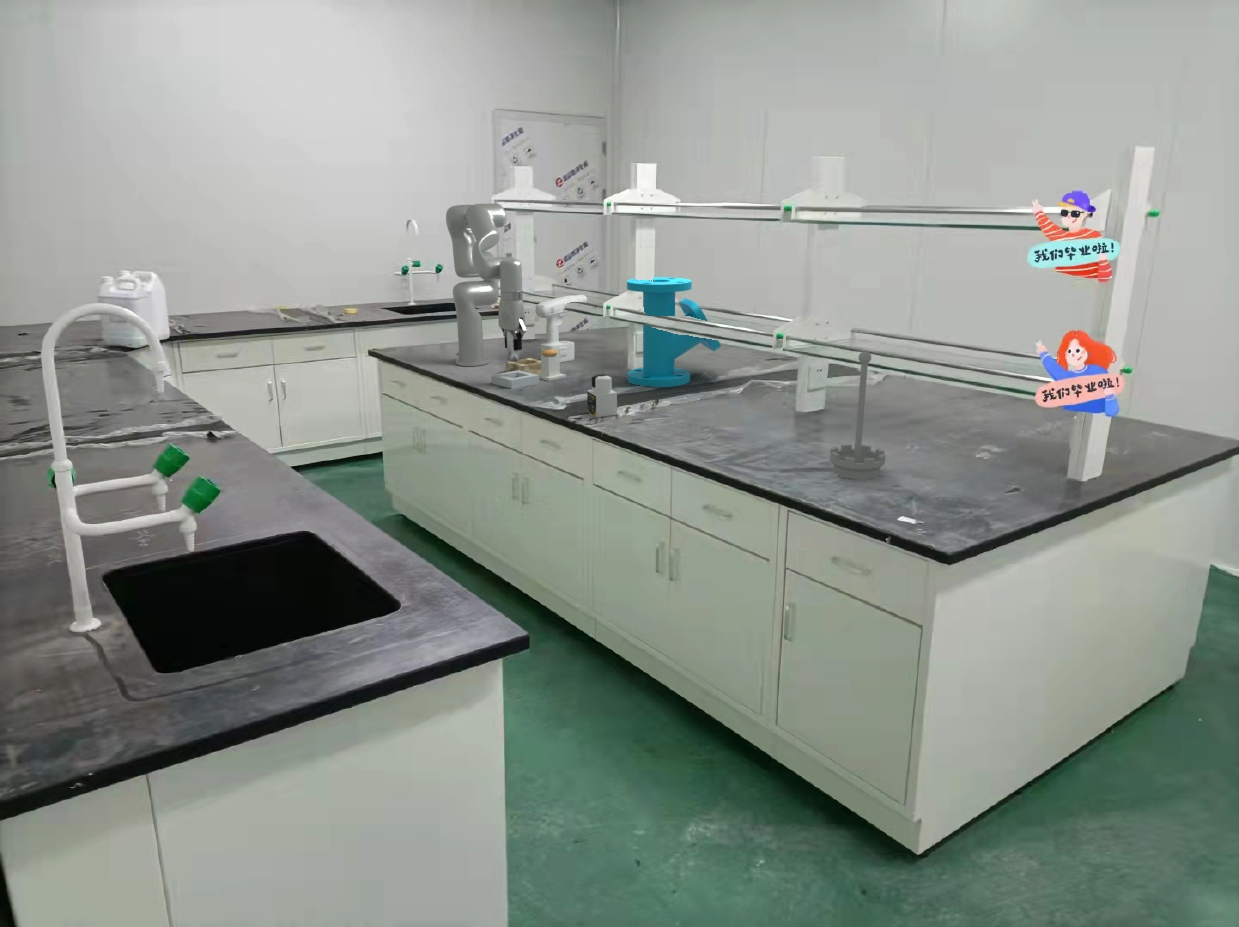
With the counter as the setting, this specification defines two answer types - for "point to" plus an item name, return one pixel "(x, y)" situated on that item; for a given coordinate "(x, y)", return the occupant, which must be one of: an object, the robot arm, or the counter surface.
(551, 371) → the post
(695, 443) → the counter surface
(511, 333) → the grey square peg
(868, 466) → the flag stand
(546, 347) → the power drill
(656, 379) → the pipe fitting
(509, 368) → the rack
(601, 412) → the medicine bottle
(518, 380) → the socket block
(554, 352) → the release plunger
